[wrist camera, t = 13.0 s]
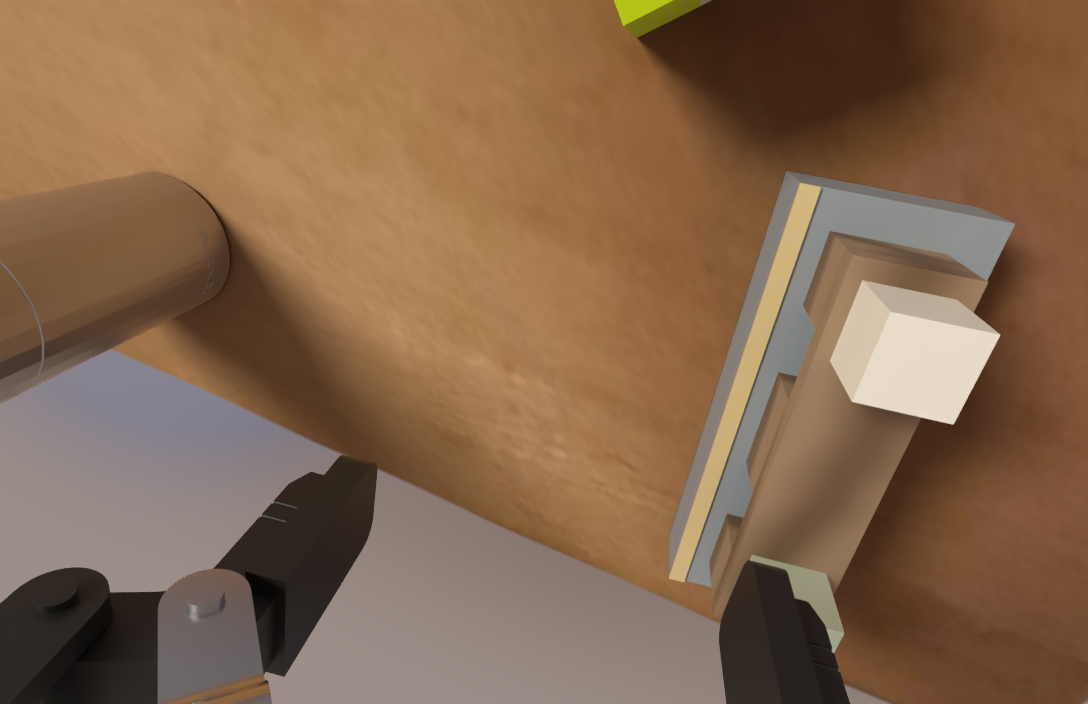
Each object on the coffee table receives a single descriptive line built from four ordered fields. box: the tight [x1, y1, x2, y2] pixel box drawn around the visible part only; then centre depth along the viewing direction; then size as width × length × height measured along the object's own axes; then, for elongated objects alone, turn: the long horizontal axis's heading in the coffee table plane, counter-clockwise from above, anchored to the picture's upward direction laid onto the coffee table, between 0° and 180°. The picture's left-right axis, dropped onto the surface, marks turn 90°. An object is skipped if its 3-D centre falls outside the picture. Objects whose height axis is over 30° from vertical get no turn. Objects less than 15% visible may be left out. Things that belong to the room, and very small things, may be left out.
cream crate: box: [830, 280, 1000, 425], centre depth 26 cm, size 4×4×4 cm
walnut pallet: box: [709, 231, 988, 618], centre depth 34 cm, size 6×22×4 cm, turn 171°
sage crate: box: [750, 555, 844, 653], centre depth 33 cm, size 4×4×4 cm
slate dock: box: [669, 171, 1015, 587], centre depth 37 cm, size 10×26×4 cm, turn 171°
